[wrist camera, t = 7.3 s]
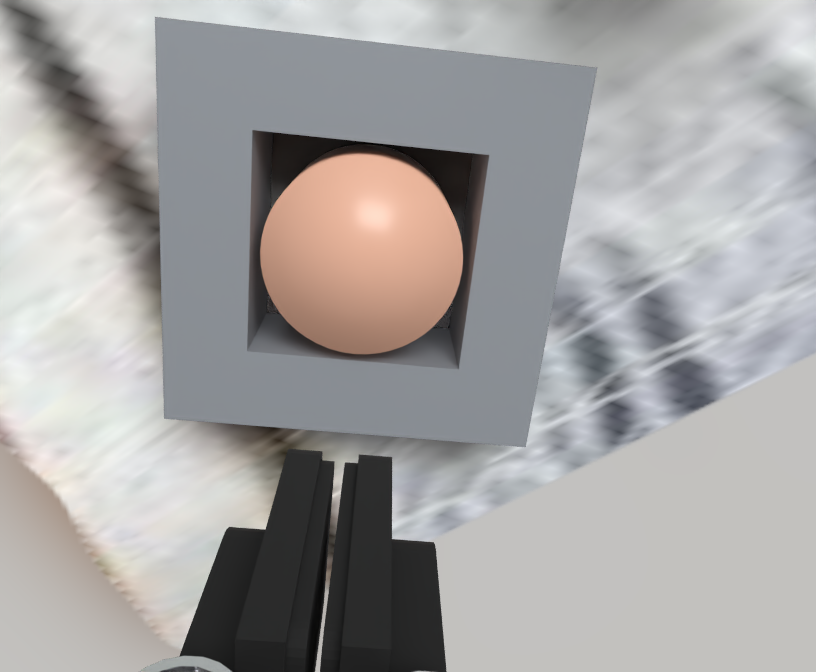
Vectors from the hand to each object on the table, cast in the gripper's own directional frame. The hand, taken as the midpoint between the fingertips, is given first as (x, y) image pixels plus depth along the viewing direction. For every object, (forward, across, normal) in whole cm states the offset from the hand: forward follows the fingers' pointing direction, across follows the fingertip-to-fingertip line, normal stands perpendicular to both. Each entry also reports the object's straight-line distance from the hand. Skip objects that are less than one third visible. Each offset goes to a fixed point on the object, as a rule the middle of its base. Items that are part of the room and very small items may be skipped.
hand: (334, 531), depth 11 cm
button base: (+23, 0, 0) cm, 23 cm away
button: (+22, 0, 0) cm, 22 cm away
